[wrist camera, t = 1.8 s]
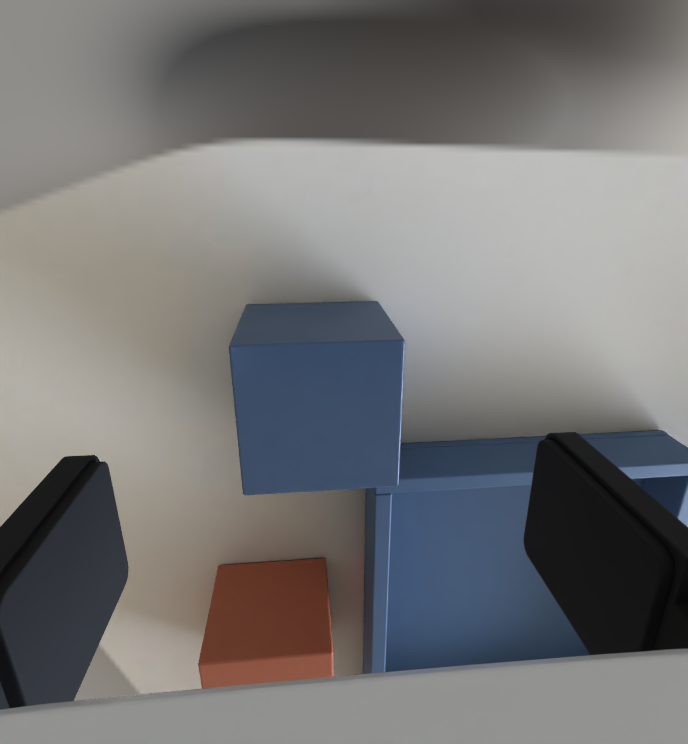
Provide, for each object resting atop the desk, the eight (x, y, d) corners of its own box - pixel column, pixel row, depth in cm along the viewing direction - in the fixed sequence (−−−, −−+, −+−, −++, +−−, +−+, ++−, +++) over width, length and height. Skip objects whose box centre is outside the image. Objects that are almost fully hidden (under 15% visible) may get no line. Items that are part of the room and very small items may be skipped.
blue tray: (365, 444, 19) (375, 480, 16) (662, 429, 20) (709, 461, 17) (362, 682, 23) (369, 734, 21) (600, 660, 24) (631, 708, 22)
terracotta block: (218, 564, 20) (197, 664, 16) (325, 557, 20) (333, 652, 16) (228, 642, 22) (211, 752, 17) (327, 634, 22) (334, 739, 18)
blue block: (245, 304, 16) (228, 345, 12) (377, 300, 17) (405, 339, 12) (255, 423, 18) (242, 496, 14) (375, 417, 18) (398, 487, 14)
